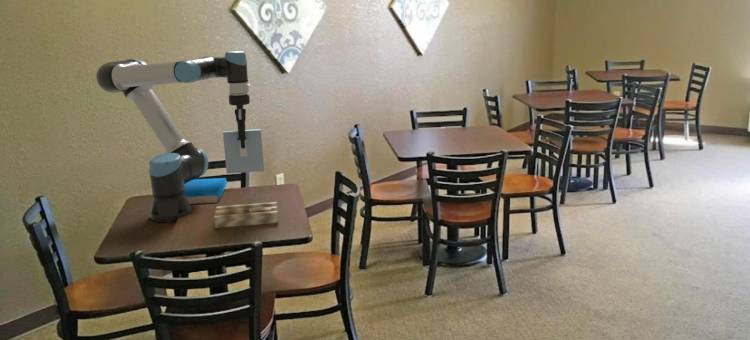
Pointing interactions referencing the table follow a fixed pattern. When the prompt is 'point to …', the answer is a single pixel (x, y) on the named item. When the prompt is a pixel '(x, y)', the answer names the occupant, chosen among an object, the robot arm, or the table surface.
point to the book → (204, 190)
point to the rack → (247, 215)
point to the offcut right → (260, 210)
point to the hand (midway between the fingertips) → (244, 155)
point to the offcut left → (230, 211)
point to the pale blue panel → (253, 151)
